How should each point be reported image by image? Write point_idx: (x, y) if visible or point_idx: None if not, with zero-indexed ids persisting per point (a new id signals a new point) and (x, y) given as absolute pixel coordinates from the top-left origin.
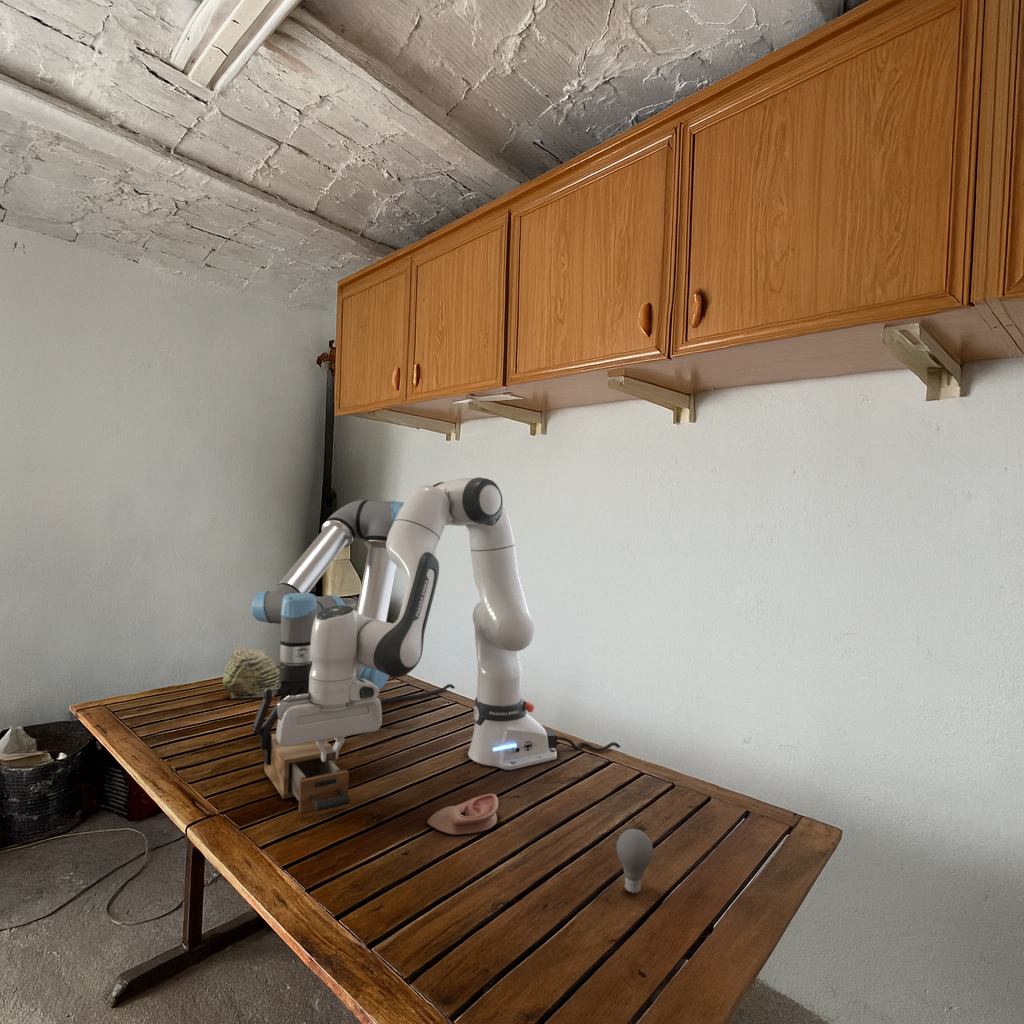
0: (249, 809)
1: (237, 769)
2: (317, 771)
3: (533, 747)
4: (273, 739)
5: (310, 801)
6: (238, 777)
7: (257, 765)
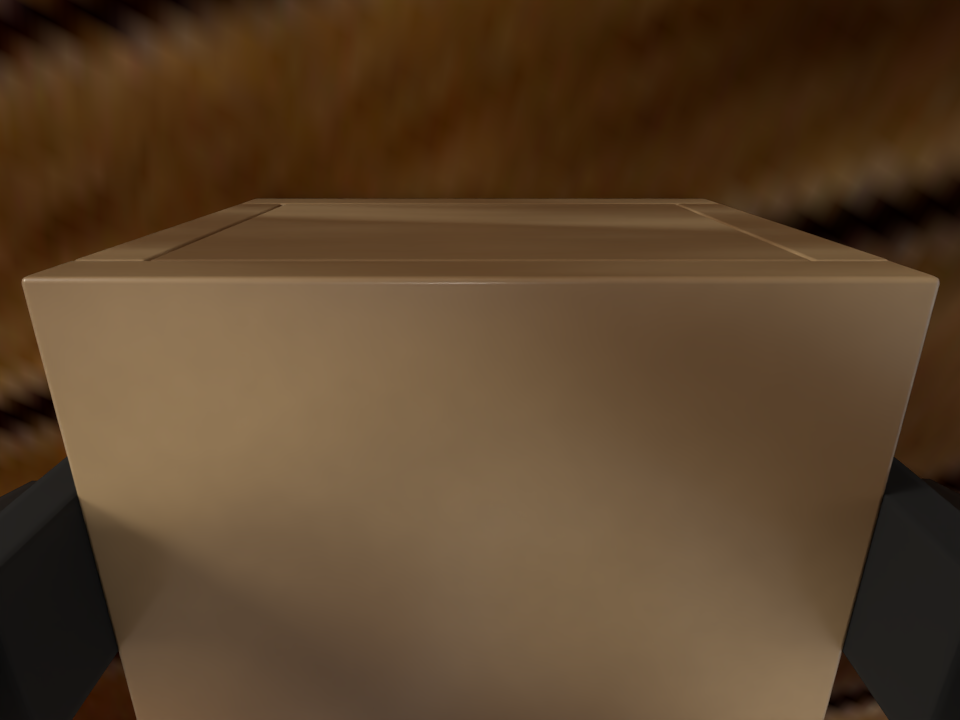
0: (123, 708)
1: (4, 30)
2: None
3: None
4: (154, 546)
5: None
6: (28, 232)
7: (204, 25)
